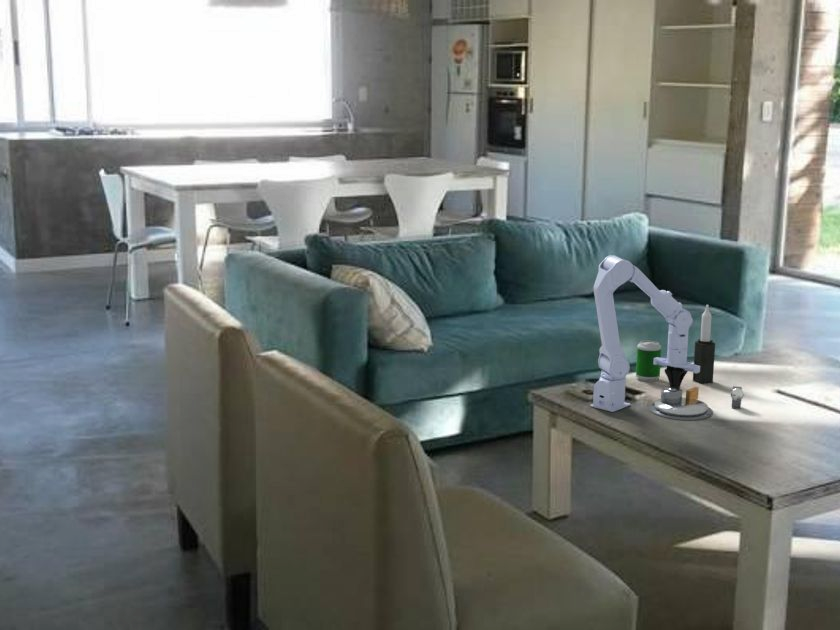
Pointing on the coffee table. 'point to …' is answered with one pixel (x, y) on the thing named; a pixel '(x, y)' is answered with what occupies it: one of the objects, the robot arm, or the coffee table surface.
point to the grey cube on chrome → (737, 397)
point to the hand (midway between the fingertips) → (674, 391)
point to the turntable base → (654, 411)
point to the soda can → (648, 361)
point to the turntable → (684, 405)
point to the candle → (704, 351)
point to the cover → (671, 396)
